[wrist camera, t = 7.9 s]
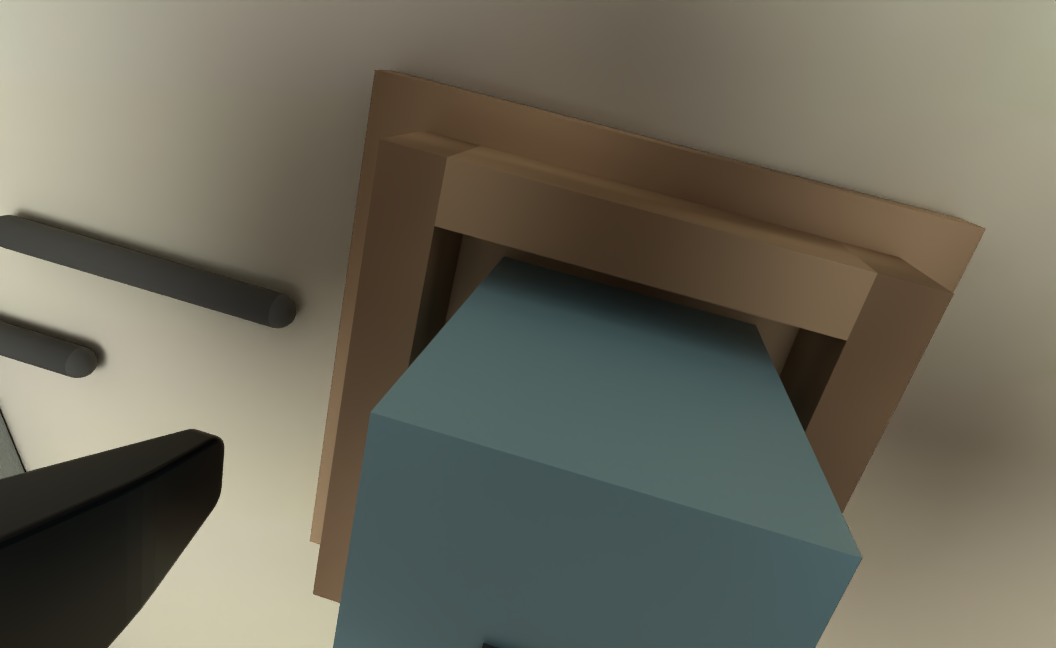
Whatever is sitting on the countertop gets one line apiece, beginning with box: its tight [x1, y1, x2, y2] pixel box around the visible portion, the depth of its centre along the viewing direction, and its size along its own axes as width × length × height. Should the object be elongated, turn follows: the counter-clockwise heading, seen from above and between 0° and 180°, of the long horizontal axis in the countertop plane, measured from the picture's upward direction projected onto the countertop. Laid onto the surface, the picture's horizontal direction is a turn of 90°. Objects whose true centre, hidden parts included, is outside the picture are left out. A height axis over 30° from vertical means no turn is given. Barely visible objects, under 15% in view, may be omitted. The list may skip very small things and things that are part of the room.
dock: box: [310, 70, 985, 603], centre depth 12 cm, size 10×10×3 cm
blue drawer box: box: [333, 257, 862, 648], centre depth 9 cm, size 4×5×6 cm
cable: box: [0, 215, 296, 378], centre depth 14 cm, size 11×3×1 cm, turn 76°
